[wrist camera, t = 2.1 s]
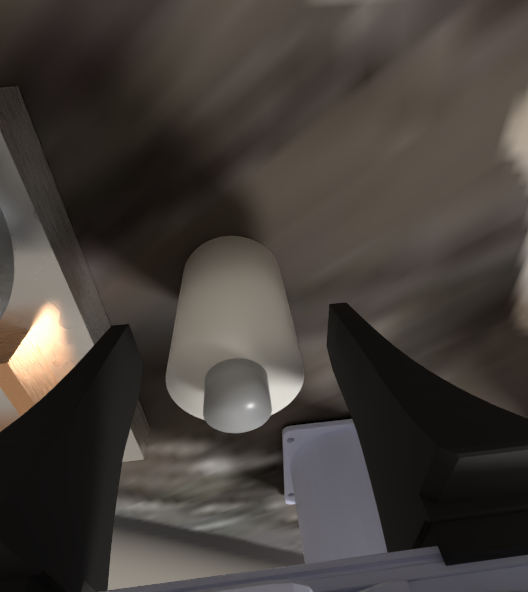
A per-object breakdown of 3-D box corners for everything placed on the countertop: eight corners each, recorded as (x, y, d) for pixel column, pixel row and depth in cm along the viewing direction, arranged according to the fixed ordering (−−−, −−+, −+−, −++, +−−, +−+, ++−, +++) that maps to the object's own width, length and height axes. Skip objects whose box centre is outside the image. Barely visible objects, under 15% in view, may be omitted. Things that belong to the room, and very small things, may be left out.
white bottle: (281, 313, 18) (310, 447, 12) (191, 322, 18) (176, 462, 12) (278, 231, 15) (314, 350, 9) (174, 240, 15) (143, 367, 9)
